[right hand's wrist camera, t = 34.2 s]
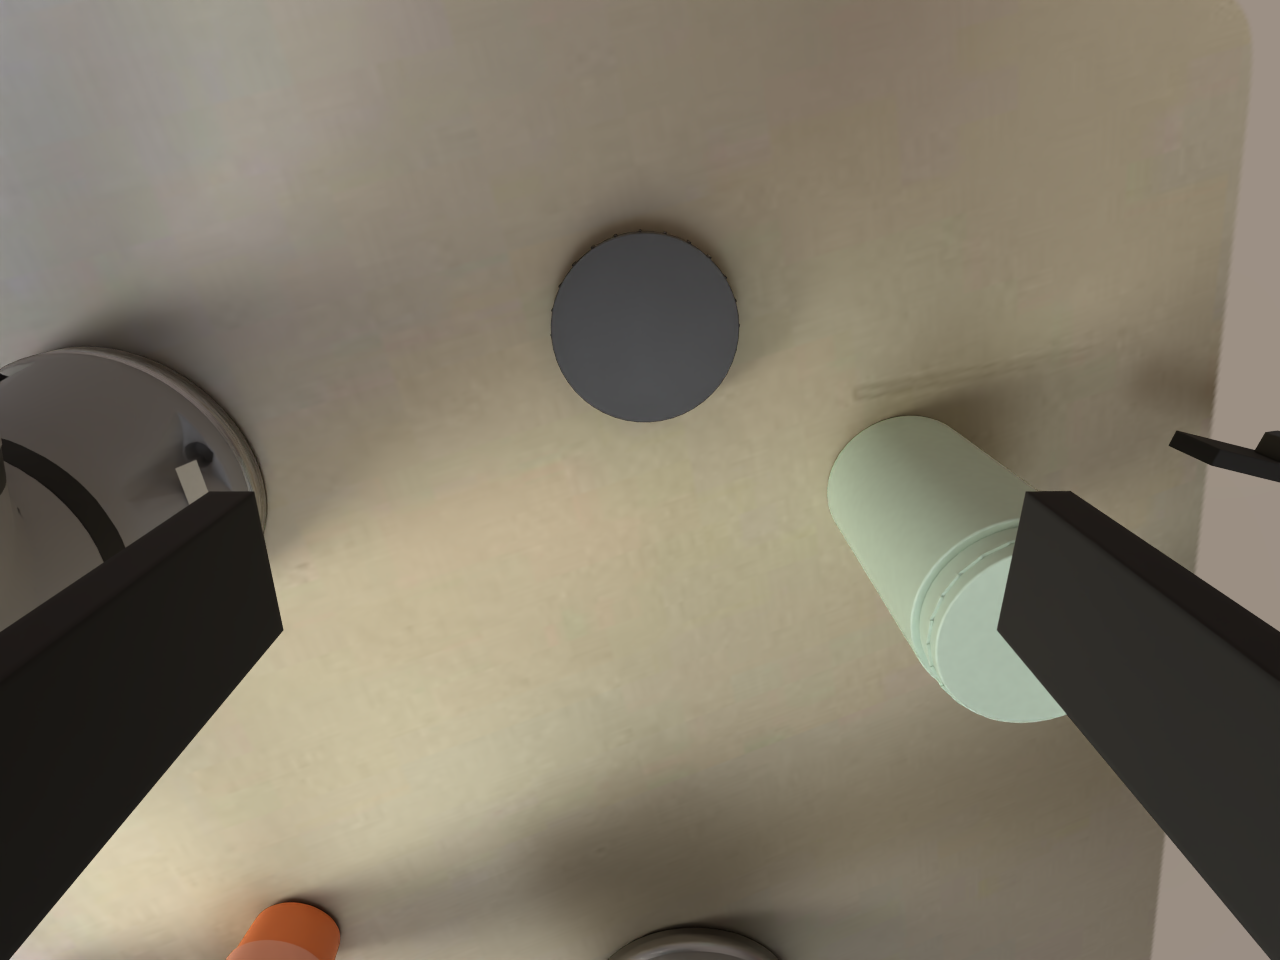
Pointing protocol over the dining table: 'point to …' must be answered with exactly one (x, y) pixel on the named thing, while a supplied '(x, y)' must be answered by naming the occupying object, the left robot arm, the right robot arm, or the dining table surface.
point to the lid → (644, 326)
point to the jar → (940, 555)
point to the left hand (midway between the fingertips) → (1120, 578)
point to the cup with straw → (289, 935)
